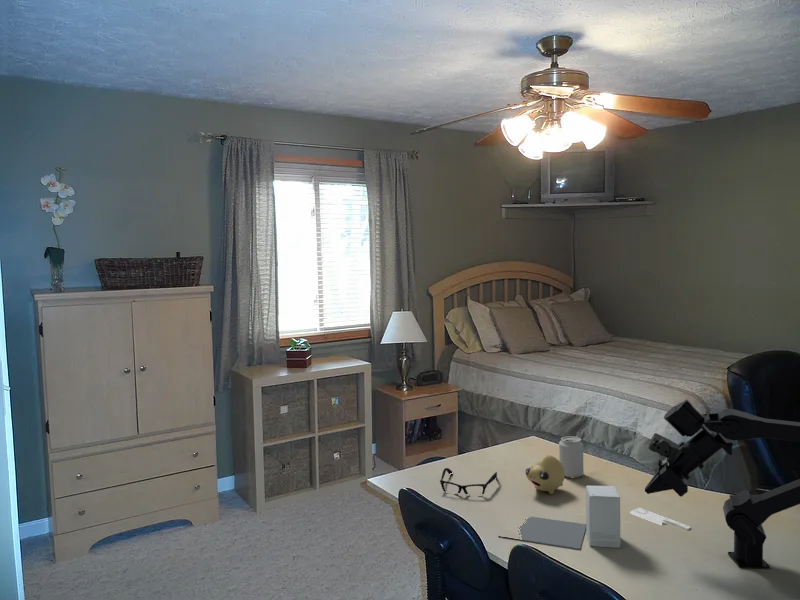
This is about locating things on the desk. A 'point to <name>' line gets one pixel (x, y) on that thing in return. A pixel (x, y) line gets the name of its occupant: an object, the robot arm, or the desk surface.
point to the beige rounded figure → (546, 474)
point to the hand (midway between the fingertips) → (646, 491)
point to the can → (571, 456)
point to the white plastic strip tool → (656, 518)
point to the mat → (553, 532)
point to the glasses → (465, 485)
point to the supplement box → (603, 516)
